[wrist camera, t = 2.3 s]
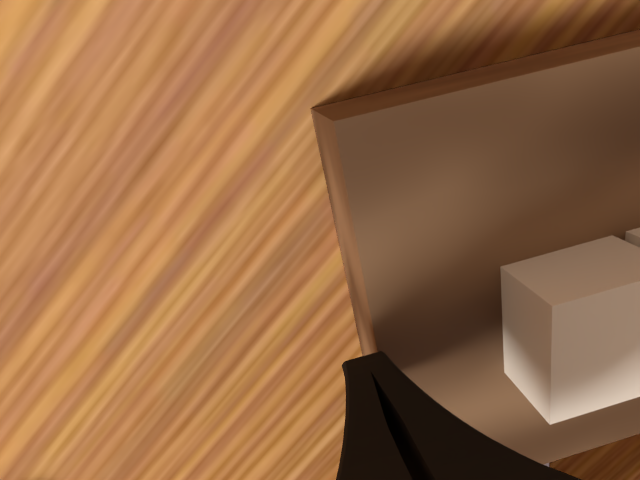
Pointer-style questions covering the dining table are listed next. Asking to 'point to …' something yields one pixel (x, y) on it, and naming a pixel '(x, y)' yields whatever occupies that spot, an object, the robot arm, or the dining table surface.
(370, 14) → the dining table surface
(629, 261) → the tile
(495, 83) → the dark wooden board
